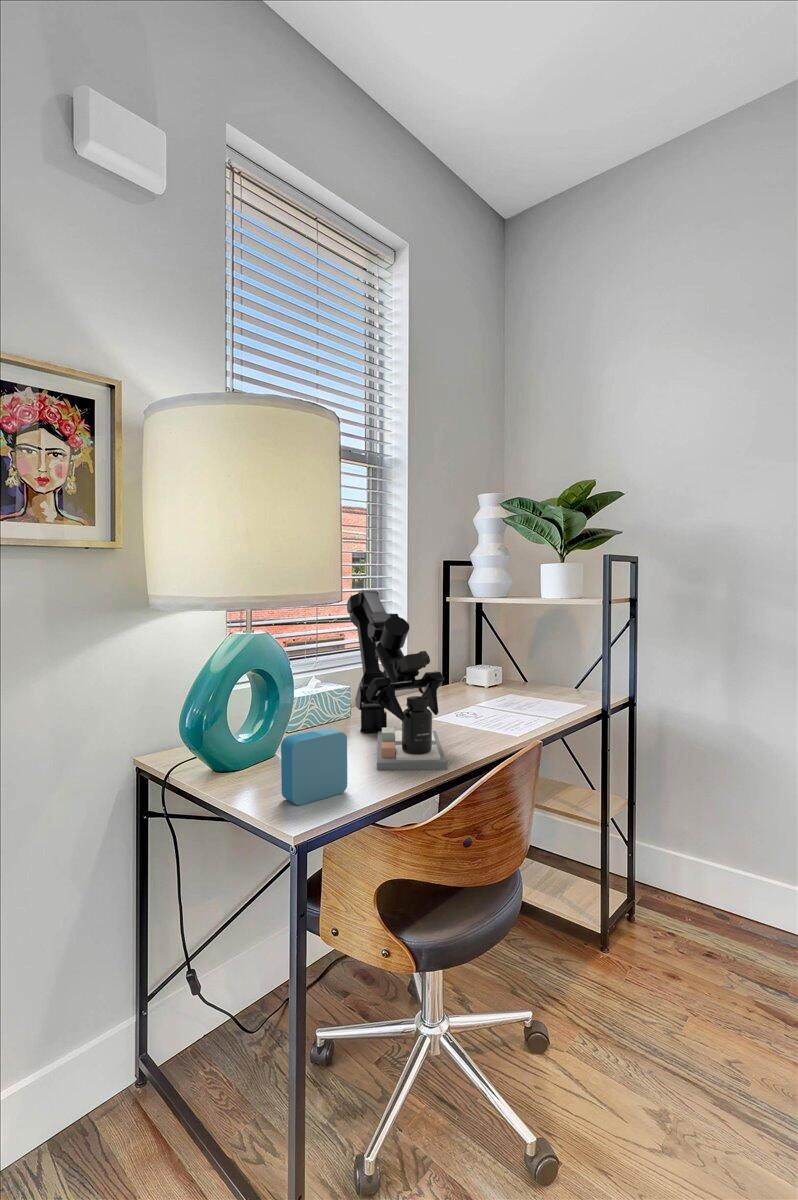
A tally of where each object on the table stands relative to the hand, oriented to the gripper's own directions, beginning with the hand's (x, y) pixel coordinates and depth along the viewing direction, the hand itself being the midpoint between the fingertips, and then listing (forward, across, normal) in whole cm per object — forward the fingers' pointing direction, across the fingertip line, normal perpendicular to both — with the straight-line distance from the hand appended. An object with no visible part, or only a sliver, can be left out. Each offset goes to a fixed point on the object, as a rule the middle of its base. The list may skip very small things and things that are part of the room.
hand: (420, 716), depth 135 cm
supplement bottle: (+5, 0, +7) cm, 8 cm away
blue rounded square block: (+12, -29, +3) cm, 31 cm away
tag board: (+2, +2, +13) cm, 13 cm away
